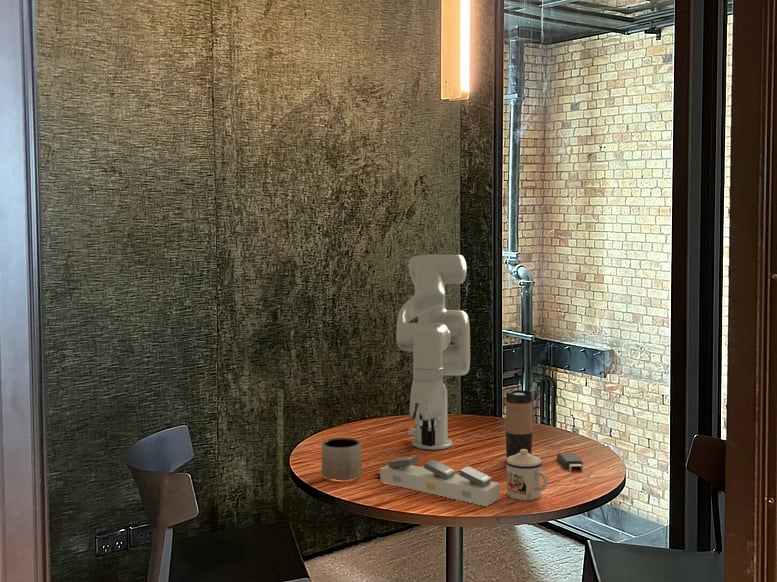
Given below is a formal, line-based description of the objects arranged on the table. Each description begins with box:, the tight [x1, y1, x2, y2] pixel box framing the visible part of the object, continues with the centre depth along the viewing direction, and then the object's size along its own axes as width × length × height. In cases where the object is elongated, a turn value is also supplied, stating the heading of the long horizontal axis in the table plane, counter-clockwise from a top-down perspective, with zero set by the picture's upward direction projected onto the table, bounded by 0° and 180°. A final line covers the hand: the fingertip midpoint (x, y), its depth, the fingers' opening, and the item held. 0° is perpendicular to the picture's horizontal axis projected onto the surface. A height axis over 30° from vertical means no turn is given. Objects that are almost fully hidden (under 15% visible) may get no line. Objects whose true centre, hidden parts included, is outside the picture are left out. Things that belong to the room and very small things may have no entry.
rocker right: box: [458, 466, 493, 487], centre depth 191 cm, size 7×4×2 cm, turn 54°
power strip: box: [374, 464, 501, 508], centre depth 199 cm, size 36×7×5 cm, turn 54°
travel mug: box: [505, 389, 533, 459], centre depth 223 cm, size 8×8×20 cm
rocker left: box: [387, 455, 419, 468], centre depth 204 cm, size 7×4×2 cm, turn 54°
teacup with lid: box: [505, 449, 549, 501], centre depth 193 cm, size 12×9×12 cm
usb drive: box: [556, 452, 584, 472], centre depth 219 cm, size 5×12×3 cm, turn 2°
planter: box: [321, 437, 363, 480], centre depth 210 cm, size 11×11×10 cm
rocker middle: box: [423, 458, 456, 479], centre depth 197 cm, size 7×4×2 cm, turn 54°
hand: (428, 445), depth 198 cm, fingers closed
